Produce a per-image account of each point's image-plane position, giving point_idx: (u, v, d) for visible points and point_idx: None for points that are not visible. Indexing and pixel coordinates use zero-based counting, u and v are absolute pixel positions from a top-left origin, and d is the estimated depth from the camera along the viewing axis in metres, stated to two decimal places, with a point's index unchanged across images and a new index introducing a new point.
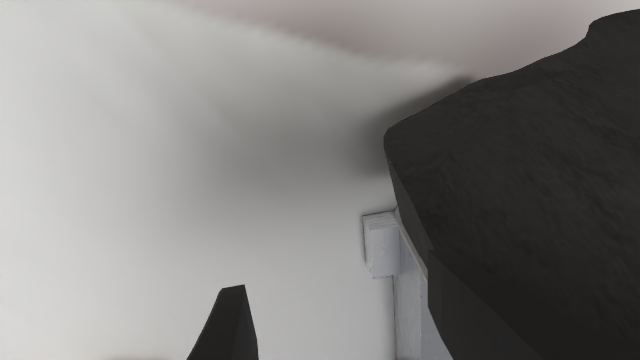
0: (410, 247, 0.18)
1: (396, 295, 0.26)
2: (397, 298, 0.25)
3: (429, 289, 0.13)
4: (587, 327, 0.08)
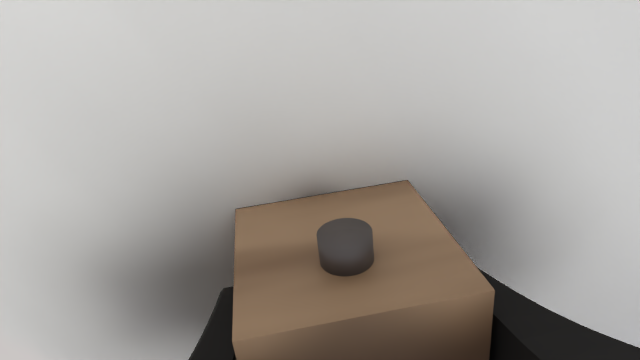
0: None
1: None
2: None
3: None
4: (584, 328, 0.08)
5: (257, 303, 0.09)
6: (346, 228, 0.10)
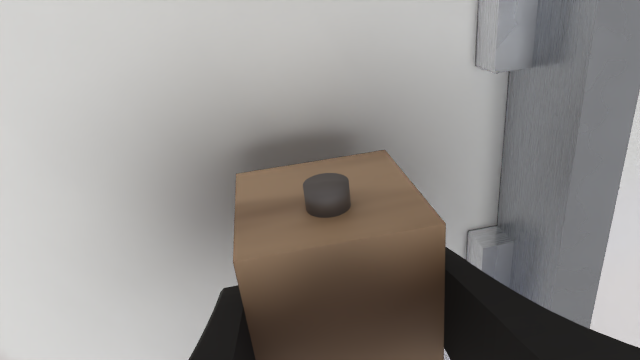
0: None
1: (513, 116, 0.19)
2: (515, 119, 0.19)
3: None
4: (584, 328, 0.08)
5: (253, 236, 0.11)
6: (327, 180, 0.12)
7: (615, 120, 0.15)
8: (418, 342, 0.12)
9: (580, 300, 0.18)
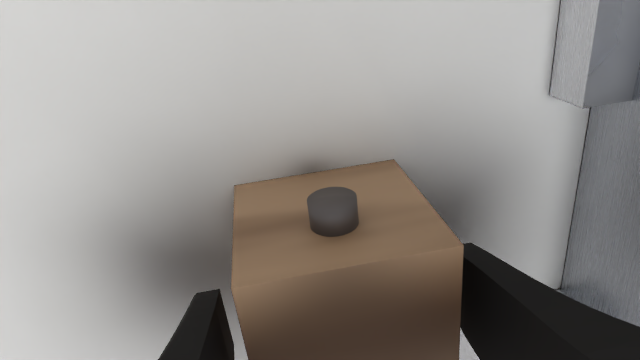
0: None
1: (595, 160, 0.14)
2: (598, 164, 0.14)
3: None
4: (619, 320, 0.08)
5: (253, 258, 0.10)
6: (333, 195, 0.11)
7: None
8: None
9: None
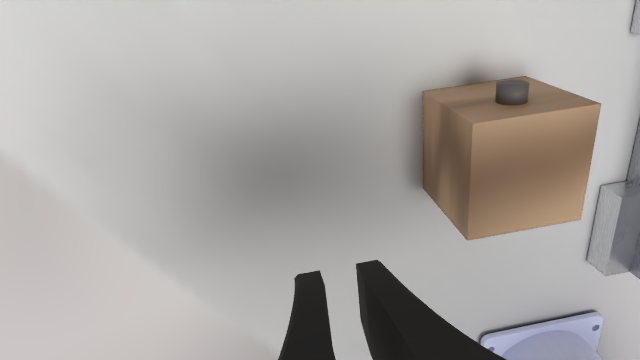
0: None
1: None
2: None
3: (360, 302, 0.13)
4: (484, 349, 0.08)
5: (473, 114, 0.17)
6: (512, 82, 0.18)
7: None
8: (569, 192, 0.18)
9: None
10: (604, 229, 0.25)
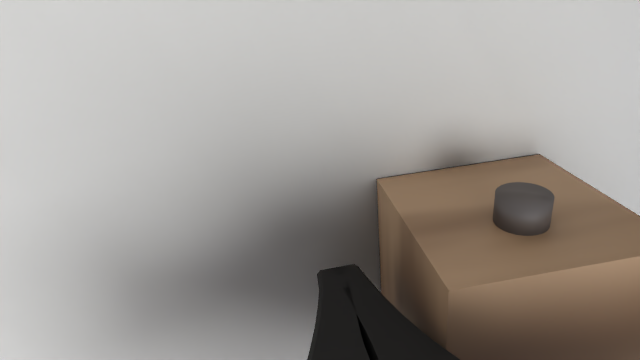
0: None
1: None
2: None
3: None
4: (451, 356, 0.08)
5: (452, 258, 0.09)
6: (523, 191, 0.10)
7: None
8: None
9: None
10: None
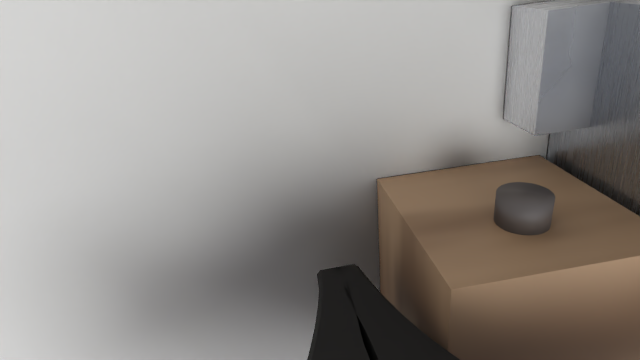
0: None
1: None
2: None
3: None
4: (451, 355, 0.08)
5: (454, 257, 0.09)
6: (524, 191, 0.10)
7: None
8: None
9: None
10: None
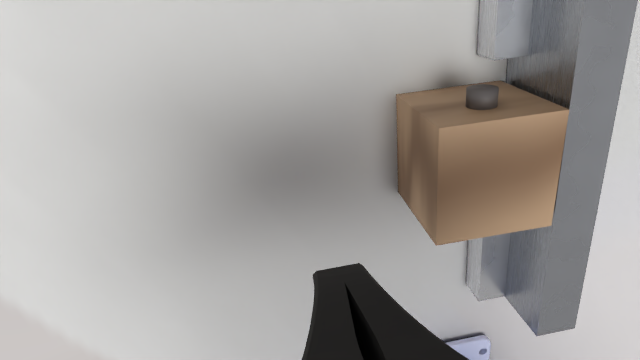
0: None
1: None
2: None
3: None
4: (458, 354, 0.08)
5: (441, 118, 0.17)
6: (482, 86, 0.18)
7: (602, 101, 0.17)
8: (539, 198, 0.18)
9: (571, 268, 0.20)
10: (474, 253, 0.24)
